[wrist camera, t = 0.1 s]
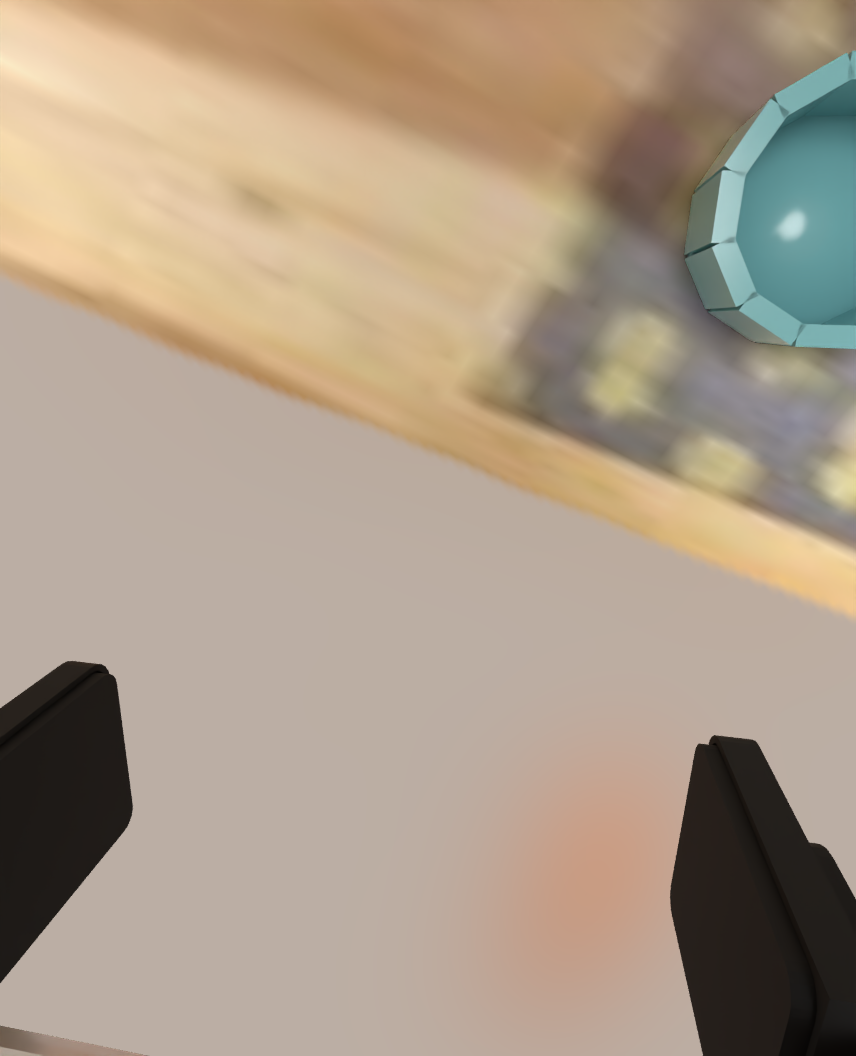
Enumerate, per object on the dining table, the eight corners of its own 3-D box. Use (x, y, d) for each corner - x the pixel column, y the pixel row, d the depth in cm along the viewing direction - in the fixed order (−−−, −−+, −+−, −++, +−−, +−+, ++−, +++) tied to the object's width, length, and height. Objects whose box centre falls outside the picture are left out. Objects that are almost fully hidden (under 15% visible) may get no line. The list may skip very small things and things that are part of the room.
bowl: (705, 99, 33) (739, 53, 27) (960, 95, 31) (1052, 46, 26) (672, 339, 37) (696, 343, 31) (899, 347, 35) (969, 352, 29)
